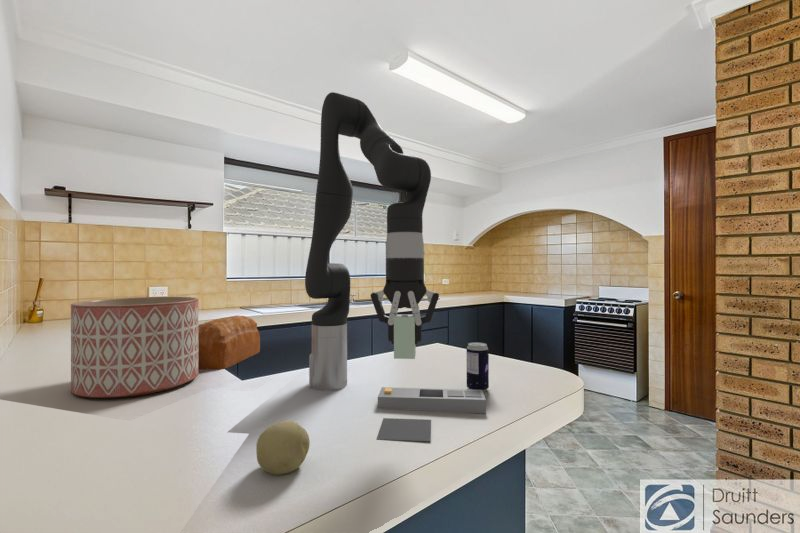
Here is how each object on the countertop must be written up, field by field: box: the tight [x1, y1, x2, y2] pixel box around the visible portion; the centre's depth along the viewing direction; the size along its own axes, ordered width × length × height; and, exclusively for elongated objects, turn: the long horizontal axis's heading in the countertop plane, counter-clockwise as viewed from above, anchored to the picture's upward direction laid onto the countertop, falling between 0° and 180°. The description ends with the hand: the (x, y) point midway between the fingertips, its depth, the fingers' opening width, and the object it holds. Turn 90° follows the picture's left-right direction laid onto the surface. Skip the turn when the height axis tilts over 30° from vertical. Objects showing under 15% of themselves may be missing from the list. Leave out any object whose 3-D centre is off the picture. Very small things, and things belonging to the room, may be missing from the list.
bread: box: [198, 315, 261, 371], centre depth 129 cm, size 14×26×16 cm, turn 174°
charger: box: [393, 313, 417, 360], centre depth 77 cm, size 4×4×8 cm
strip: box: [377, 386, 487, 414], centre depth 90 cm, size 24×7×4 cm, turn 85°
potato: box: [255, 420, 311, 476], centre depth 61 cm, size 8×8×8 cm
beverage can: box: [466, 341, 490, 393], centre depth 102 cm, size 6×6×12 cm
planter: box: [70, 296, 199, 399], centre depth 102 cm, size 27×27×24 cm
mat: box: [376, 417, 432, 444], centre depth 77 cm, size 10×10×1 cm
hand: (405, 343), depth 77 cm, fingers closed on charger, 3 cm apart
